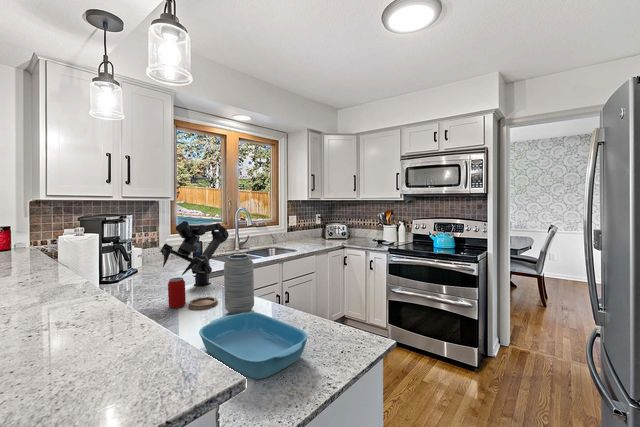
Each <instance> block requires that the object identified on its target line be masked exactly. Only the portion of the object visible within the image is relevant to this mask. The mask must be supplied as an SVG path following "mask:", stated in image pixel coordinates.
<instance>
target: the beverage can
mask: <svg viewBox="0 0 640 427" xmlns="http://www.w3.org/2000/svg"><path fill="white" fill-rule="evenodd" d="M167 292H168V293H167V294H168V295H167V296H168V307H169V308H171V309H180V308H183V307H184V306H185V305H186V303H187V302H186V299H187V298H186V281H185V279H184V278H183V277H172V278H170V279H169V281H168V283H167Z"/></svg>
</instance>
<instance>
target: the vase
mask: <svg viewBox="0 0 640 427" xmlns="http://www.w3.org/2000/svg"><path fill="white" fill-rule="evenodd" d="M250 257H251V256H250V255H249V254H242V253H241V254H240V253H239V254H238V253H237V254H231V255H228V256H227V259H226V260H225V262H224V264H223V273H224V274H223V276H224V277H223V278H224V280H223V281H224V308H225V311H227V312H228V313H229V315H235V314H240V313H245V312H251V311H252V310H253V308H254V306H255V277H254V275H255V274H254V261H253V259H251V258H250Z"/></svg>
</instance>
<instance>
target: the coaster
mask: <svg viewBox="0 0 640 427" xmlns="http://www.w3.org/2000/svg"><path fill="white" fill-rule="evenodd" d="M188 303H189V304H188V308H189V309H191V310H193V311H194V310H195V311H197V310H198V311H199V310H200V311H201V310H207V309H212V308H215V307H217V305H218V304H219V301H218V299H217V297H213V296H203V297H197V298H194V299H192V300H190V301H189V302H188ZM211 307H212V308H211Z"/></svg>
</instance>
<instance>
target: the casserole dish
mask: <svg viewBox="0 0 640 427" xmlns="http://www.w3.org/2000/svg"><path fill="white" fill-rule="evenodd" d="M198 333H199V336H200V338H201V341H202V343H203V345H204V348H205V349H206V350H207V351H208V353H209V354H211V355H212V356H213V357H215V358H216V359H217V360H219V361H221V362H222V363H224V364H226V365H227V366H229V367H230V368H232V370H233V369H234V370H235V371H237V372H238V373H240V374H242V375H243V376H247V377H249V378H251V379H257V380H261V379H265V378H266V379H267V378H269V377H270V376H273V375H275V374H276V373H278V372H280V371H282V370H283V369H286V368H287V367H289V366H291V365H292V364H294V363H296V361H298V360H299V359H300V358H301V357H302V355H303V352H304V350H305V347H306V344H307V340H308V334H307V333H306V332H305V331H304V330H303V329H301V328H298V327H296V326H293V325H290V324H289V323H287V322H285V321H284V322H283V321H281V320H279V319H277V318H273V317H271V316H268V315H265V314H262V313H260V312H254V311H252V312H251V311H250V312H245V313H240V314H235V315H231V314H229V315H224V316H222V317H219V318H215V319H213V320H212V321H210V322H209V323H207V324H206V325H204V326H202V327H201V328H200V329H199V332H198Z"/></svg>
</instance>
